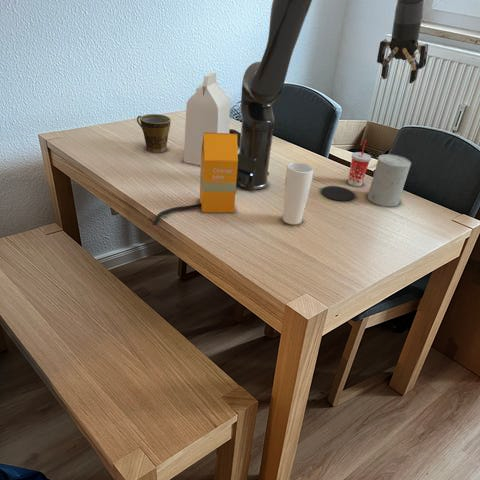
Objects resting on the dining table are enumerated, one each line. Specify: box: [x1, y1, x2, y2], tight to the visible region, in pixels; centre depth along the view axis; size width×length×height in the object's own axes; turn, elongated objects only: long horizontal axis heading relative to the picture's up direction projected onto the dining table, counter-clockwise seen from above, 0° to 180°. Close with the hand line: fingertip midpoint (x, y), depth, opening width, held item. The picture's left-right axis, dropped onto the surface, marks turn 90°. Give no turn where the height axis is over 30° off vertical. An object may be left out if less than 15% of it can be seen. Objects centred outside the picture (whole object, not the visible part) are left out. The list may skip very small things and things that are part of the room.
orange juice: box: [199, 133, 239, 213], centre depth 127 cm, size 8×9×20 cm
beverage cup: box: [347, 138, 372, 187], centre depth 150 cm, size 6×6×14 cm
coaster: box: [321, 185, 355, 202], centre depth 146 cm, size 10×10×1 cm
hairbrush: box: [229, 128, 241, 148], centre depth 174 cm, size 8×4×25 cm
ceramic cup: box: [136, 113, 172, 153], centre depth 160 cm, size 13×10×10 cm
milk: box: [183, 71, 231, 166], centre depth 151 cm, size 12×12×26 cm
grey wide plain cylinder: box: [367, 153, 412, 208], centre depth 142 cm, size 10×10×12 cm
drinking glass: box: [281, 162, 314, 226], centre depth 125 cm, size 7×7×15 cm
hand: (398, 80), depth 146 cm, fingers open, 8 cm apart
